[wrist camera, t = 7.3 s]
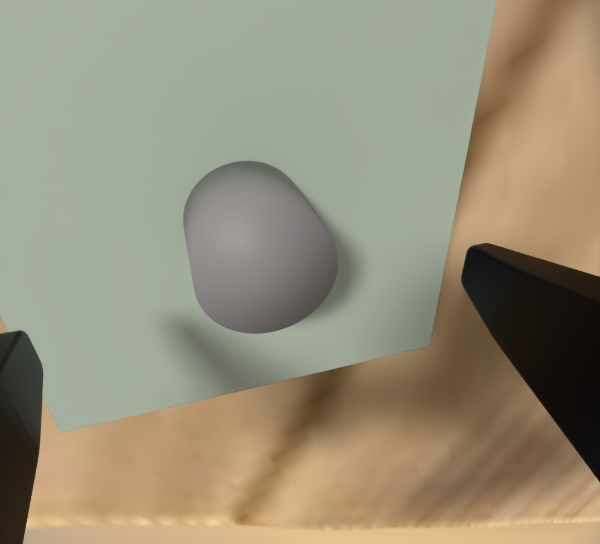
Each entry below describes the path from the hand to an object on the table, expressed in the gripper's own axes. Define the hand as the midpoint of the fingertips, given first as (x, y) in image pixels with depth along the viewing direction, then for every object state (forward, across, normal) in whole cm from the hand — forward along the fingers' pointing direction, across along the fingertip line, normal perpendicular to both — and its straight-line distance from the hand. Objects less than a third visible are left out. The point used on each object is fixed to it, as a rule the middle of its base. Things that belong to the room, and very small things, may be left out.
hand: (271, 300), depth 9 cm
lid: (+4, 0, 0) cm, 4 cm away
